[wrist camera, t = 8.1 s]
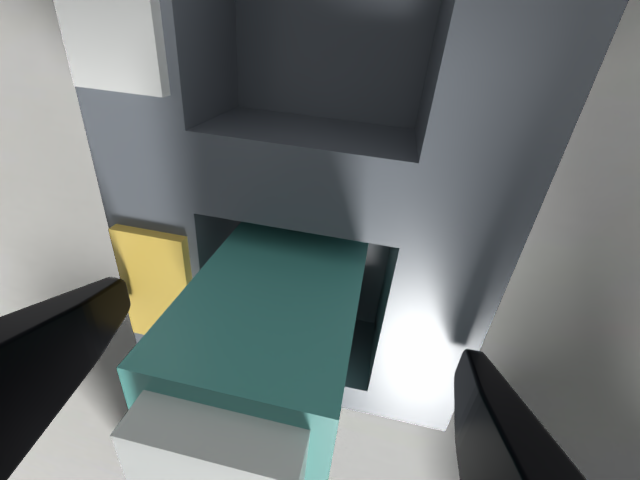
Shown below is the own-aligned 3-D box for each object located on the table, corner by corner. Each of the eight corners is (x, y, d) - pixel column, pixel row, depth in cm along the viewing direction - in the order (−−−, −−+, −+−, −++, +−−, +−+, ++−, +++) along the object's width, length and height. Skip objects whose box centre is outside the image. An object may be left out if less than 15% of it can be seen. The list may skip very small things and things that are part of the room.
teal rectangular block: (357, 305, 13) (309, 584, 7) (261, 286, 14) (125, 529, 7) (373, 216, 11) (329, 476, 5) (261, 197, 12) (78, 412, 5)
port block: (602, -169, 7) (798, -367, 4) (435, 337, 14) (446, 440, 11) (146, -179, 9) (-44, -333, 5) (197, 290, 16) (135, 368, 12)
